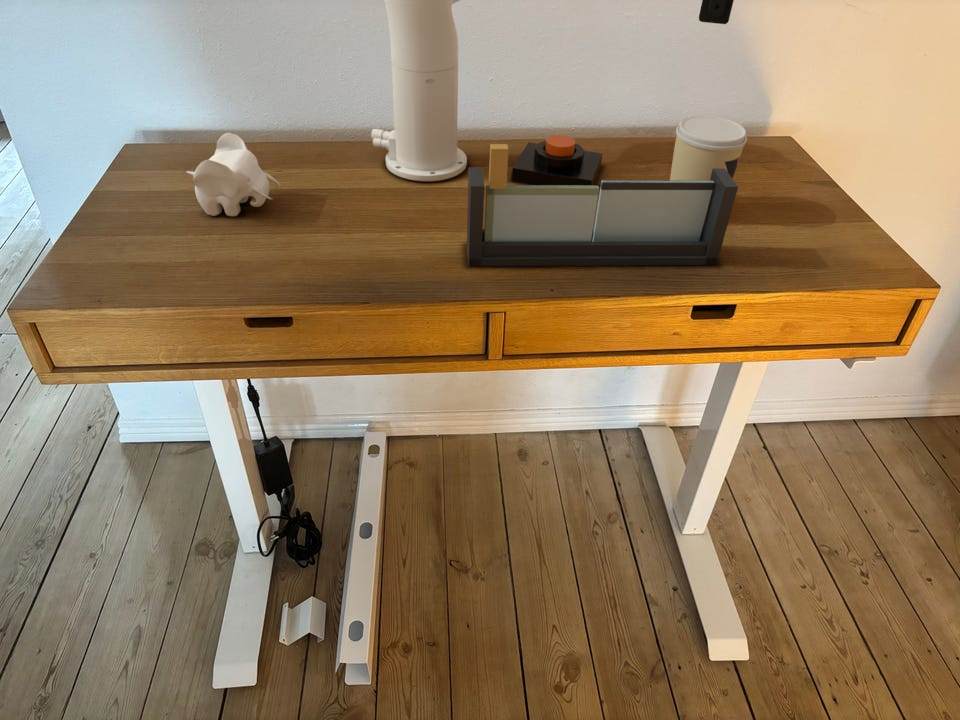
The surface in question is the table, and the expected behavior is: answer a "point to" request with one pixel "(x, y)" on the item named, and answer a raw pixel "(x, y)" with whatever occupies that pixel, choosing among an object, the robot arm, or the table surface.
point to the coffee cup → (706, 147)
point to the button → (560, 145)
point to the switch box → (556, 166)
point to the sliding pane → (535, 208)
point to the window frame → (623, 226)
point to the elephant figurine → (230, 178)
